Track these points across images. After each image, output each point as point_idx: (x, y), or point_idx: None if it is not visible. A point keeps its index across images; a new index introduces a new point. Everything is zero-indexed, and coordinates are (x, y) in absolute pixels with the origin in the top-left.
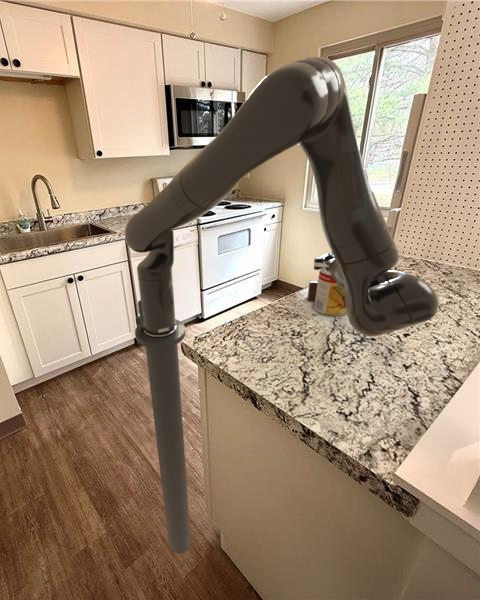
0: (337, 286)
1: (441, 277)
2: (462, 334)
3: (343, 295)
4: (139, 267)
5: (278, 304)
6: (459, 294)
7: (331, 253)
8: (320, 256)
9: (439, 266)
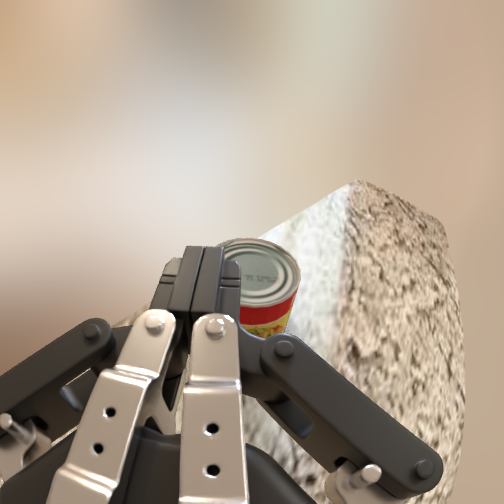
0: (247, 331)
1: (420, 235)
2: (453, 406)
3: None
4: None
5: (127, 323)
6: (443, 278)
7: (165, 274)
8: (15, 370)
9: (413, 211)
